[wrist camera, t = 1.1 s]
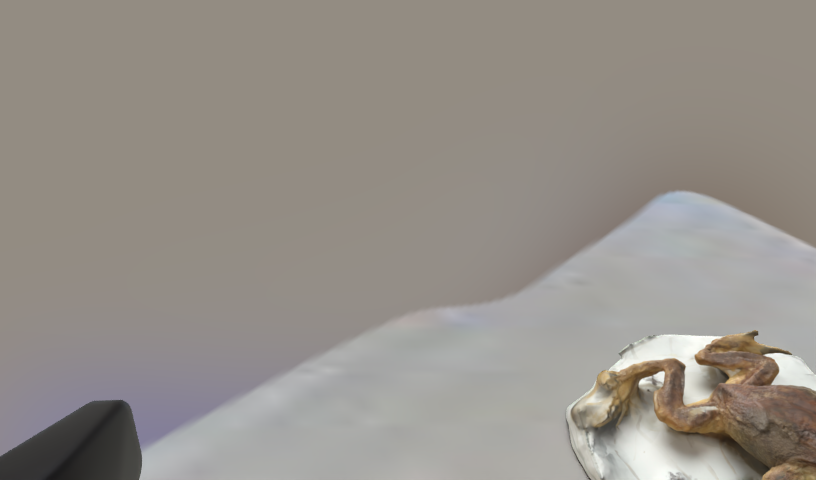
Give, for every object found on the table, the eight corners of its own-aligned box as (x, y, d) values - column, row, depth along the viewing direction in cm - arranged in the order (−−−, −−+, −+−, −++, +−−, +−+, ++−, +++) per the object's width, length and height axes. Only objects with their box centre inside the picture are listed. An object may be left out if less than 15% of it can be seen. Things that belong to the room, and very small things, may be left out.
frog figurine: (962, 449, 25) (1016, 383, 23) (829, 690, 19) (884, 633, 17) (687, 299, 32) (707, 237, 30) (525, 440, 26) (533, 375, 24)
